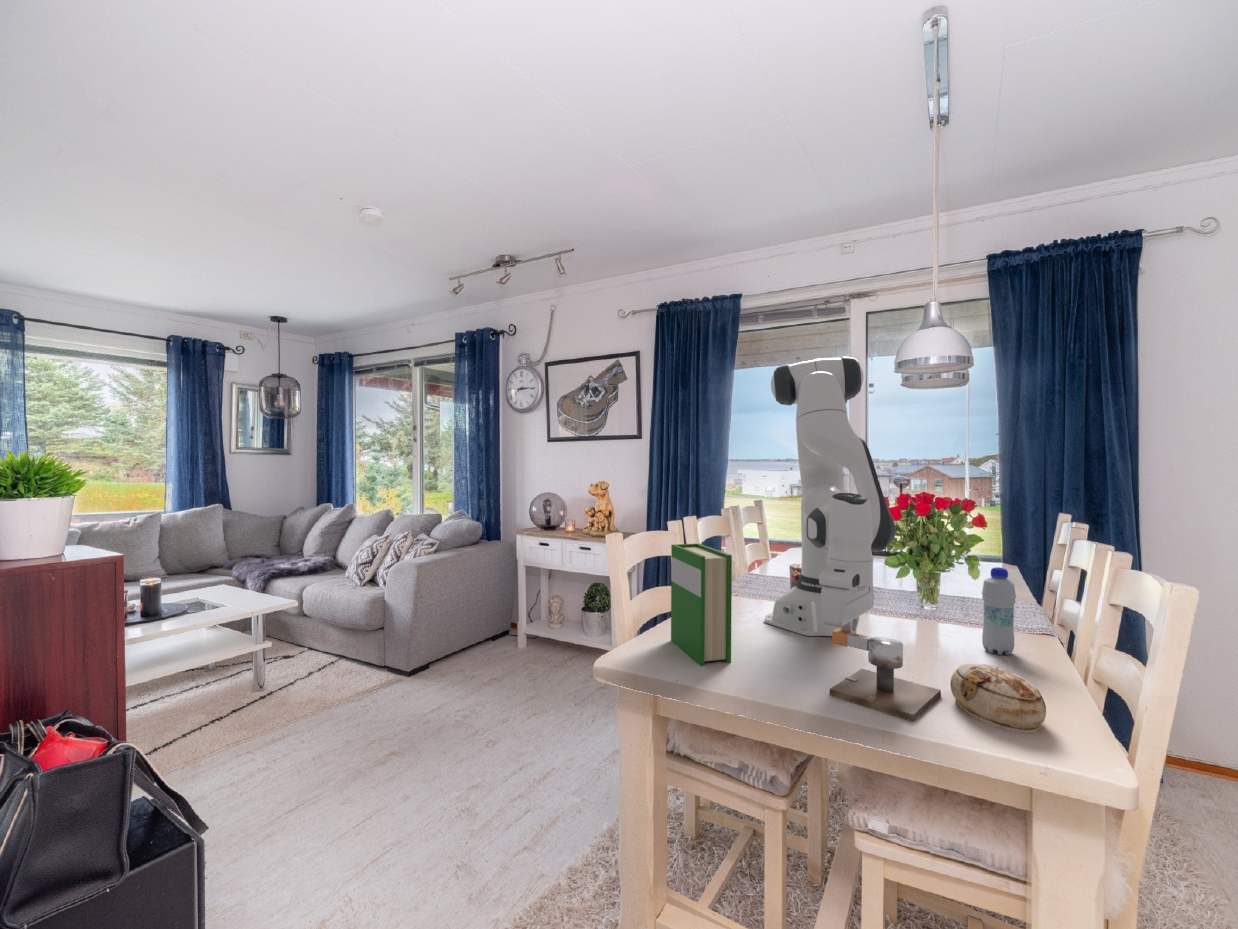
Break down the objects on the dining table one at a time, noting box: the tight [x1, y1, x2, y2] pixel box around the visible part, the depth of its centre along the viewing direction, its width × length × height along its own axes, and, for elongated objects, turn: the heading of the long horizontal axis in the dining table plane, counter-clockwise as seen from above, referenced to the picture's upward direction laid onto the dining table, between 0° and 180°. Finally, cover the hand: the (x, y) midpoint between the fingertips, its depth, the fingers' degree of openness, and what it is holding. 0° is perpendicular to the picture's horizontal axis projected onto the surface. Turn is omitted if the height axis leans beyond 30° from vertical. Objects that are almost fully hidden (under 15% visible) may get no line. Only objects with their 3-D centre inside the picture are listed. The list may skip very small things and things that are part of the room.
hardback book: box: [670, 543, 733, 667], centre depth 132 cm, size 18×7×24 cm, turn 16°
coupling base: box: [829, 666, 942, 722], centre depth 107 cm, size 15×15×6 cm
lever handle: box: [831, 629, 904, 670], centre depth 110 cm, size 13×6×4 cm, turn 44°
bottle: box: [981, 566, 1017, 656], centre depth 132 cm, size 7×7×20 cm
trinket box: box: [950, 663, 1047, 734], centre depth 100 cm, size 13×15×8 cm
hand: (849, 638), depth 116 cm, fingers closed
